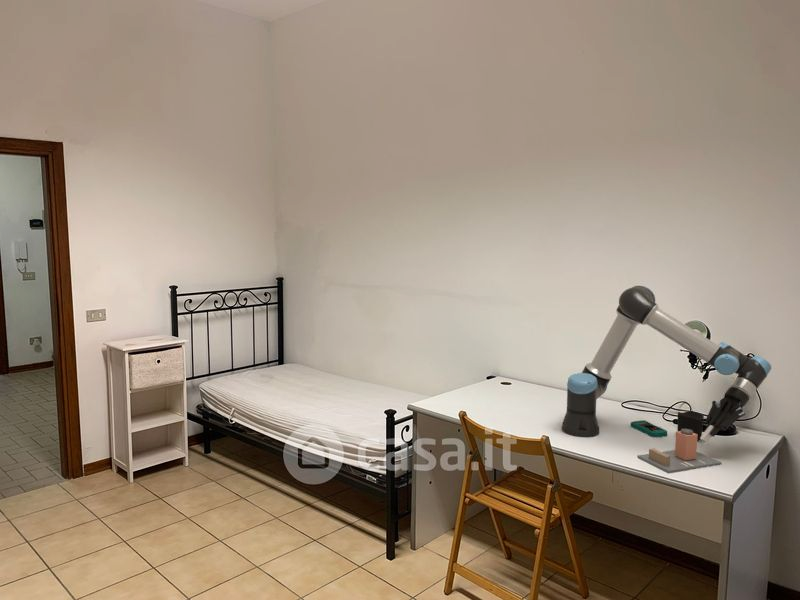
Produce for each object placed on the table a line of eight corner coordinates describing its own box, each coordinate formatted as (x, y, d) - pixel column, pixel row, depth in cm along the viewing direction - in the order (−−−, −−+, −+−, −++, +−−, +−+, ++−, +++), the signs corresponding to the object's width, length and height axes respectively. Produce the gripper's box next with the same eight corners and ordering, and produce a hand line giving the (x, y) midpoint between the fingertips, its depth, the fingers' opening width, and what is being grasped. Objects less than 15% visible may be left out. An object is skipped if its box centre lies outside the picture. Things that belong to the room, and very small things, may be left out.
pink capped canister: (685, 453, 215) (686, 427, 214) (696, 458, 210) (697, 431, 209) (674, 455, 213) (676, 429, 212) (685, 460, 208) (687, 433, 207)
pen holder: (676, 432, 241) (678, 409, 240) (702, 436, 237) (703, 412, 236) (675, 439, 233) (677, 415, 232) (702, 443, 229) (703, 419, 227)
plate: (688, 449, 222) (688, 439, 221) (721, 464, 208) (722, 452, 207) (637, 457, 214) (637, 446, 213) (668, 473, 200) (669, 461, 199)
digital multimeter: (653, 439, 235) (653, 431, 235) (629, 427, 249) (630, 420, 249) (668, 437, 237) (669, 430, 237) (644, 425, 251) (644, 419, 251)
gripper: (760, 403, 212) (723, 453, 208) (729, 394, 224) (694, 441, 220) (750, 390, 210) (713, 440, 206) (720, 382, 222) (684, 429, 218)
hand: (703, 441), depth 213 cm, fingers closed
